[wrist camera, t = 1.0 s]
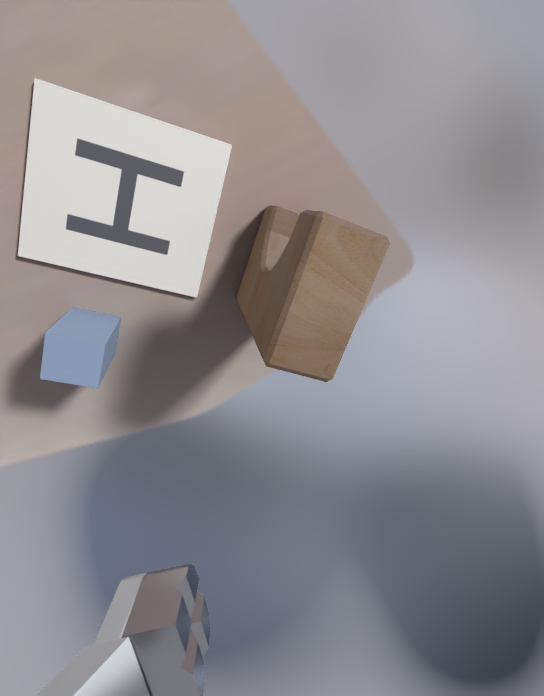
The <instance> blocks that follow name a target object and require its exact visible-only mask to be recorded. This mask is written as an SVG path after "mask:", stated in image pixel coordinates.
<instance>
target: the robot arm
mask: <svg viewBox="0 0 544 696" xmlns="http://www.w3.org/2000/svg"><path fill="white" fill-rule="evenodd" d="M198 582H199V577H198V574H197V572H196V569H195V566H194V565H192V564H186V565H181V566H176V567H172V568H167V569H162V570H157V571H152V572H148V573H143V574H139V575H134V576H130V577H125V578H124V579H123V580H122V581H121V582H120V583H119V586H118V588H117V591H116V593H115V596H114V598H113V600H112V602H111V605H110V607H109V609H108V612H107V614H106V616H105V619H104V621H103V623H102V626H101V628H100V630H99V633H98V635H97V637H96V640H95V642H94V644H93V645H90V646H86V647H85V648H84V649H83V650H82V651H81V652H80V653H79V654H78V655H77V656H76V657H75V658H74V659H73V660H72V661H71V662H70V663H69V664H68V665H67V666H66V667H65V668H64V669H63V670H62V671H61V672H59V674H57V676H55V678H54V679H52V680H51V681H50V682H49V684H47V685H46V686H45V687H44V688H43V689H42V690H41V691H40V692H39V693H38V694H37V695H36V696H203V691H204V683H205V675H206V666H205V663H204V660H203V655H204V653H205V652H206V651H207V649H208V647H209V641H210V618H209V612H208V607H207V603H206V600H205V597H204V596H203V595H202V594H201V593H199V592H198V591H197V589H198Z"/></svg>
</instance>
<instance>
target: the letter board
mask: <svg viewBox="0 0 544 696" xmlns="http://www.w3.org/2000/svg"><path fill="white" fill-rule="evenodd" d="M231 148H232V145H231V144H228V143H225V142H222V141H219V140H216V139H213V138H210V137H207V136H204V135H201V134H198V133H195V132H192V131H189V130H186V129H183V128H180V127H178V126H175V125H172V124H169V123H166V122H163V121H160V120H157V119H154V118H151V117H148V116H145V115H142V114H139V113H136V112H133V111H130V110H127V109H125V108H122V107H119V106H116V105H113V104H110V103H107V102H104V101H101V100H98V99H95V98H92V97H89V96H86V95H83V94H80V93H77V92H74V91H71V90H69V89H66V88H63V87H60V86H57V85H54V84H51V83H48V82H45V81H42V80H39V79H36V78H35V80H34V90H33V101H32V111H31V122H30V132H29V143H28V153H27V164H26V174H25V185H24V195H23V206H22V216H21V227H20V237H19V248H18V256H21V257H25V258H29V259H34V260H38V261H42V262H46V263H51V264H55V265H59V266H64V267H68V268H72V269H76V270H81V271H85V272H89V273H94V274H98V275H102V276H106V277H111V278H115V279H119V280H123V281H128V282H132V283H136V284H141V285H145V286H149V287H153V288H158V289H162V290H166V291H171V292H175V293H179V294H183V295H188V296H192V297H196V298H197V295H198V291H199V286H200V282H201V278H202V273H203V269H204V265H205V260H206V256H207V252H208V247H209V243H210V239H211V234H212V230H213V226H214V221H215V217H216V213H217V208H218V204H219V200H220V195H221V191H222V187H223V182H224V178H225V174H226V169H227V165H228V161H229V156H230V152H231Z"/></svg>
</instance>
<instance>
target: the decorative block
mask: <svg viewBox="0 0 544 696" xmlns="http://www.w3.org/2000/svg"><path fill="white" fill-rule="evenodd" d="M388 246H389V241H388V238H387V237H386V236H383V235H381V234H378V233H376V232H373V231H371V230H368V229H366V228H363V227H361V226H358V225H355V224H353V223H350V222H348V221H345V220H343V219H340V218H338V217H335V216H333V215H330V214H327V213H325V212H320V211H311V210H306V211H304V212H302V213H300V215H298V214H295V213H293V212H290V211H287V210H285V209H282V208H280V207H277V206H268V207H266V208H265V211H264V214H263V217H262V220H261V223H260V226H259V229H258V232H257V235H256V238H255V241H254V244H253V247H252V250H251V254H250V257H249V260H248V263H247V266H246V269H245V272H244V275H243V278H242V281H241V284H240V287H239V290H238V293H237V296H236V299H237V301H238V303H239V306H240V308H241V310H242V313H243V315H244V317H245V319H246V322H247V324H248V326H249V329H250V331H251V333H252V336H253V338H254V340H255V342H256V345H257V347H258V349H259V351H260V354H261V356H262V358H263V360H264V362H265V364H266V366H268V367H271V368H275V369H279V370H283V371H287V372H291V373H294V374H298V375H302V376H306V377H310V378H313V379H317V380H321V381H325V382H327V381H329V380H331V379H332V378H333V377H334V374H335V372H336V369H337V367H338V365H339V363H340V360H341V358H342V355H343V353H344V351H345V348H346V346H347V344H348V341H349V339H350V336H351V334H352V332H353V329H354V327H355V325H356V322H357V320H358V318H359V315H360V313H361V311H362V308H363V306H364V303H365V301H366V299H367V296H368V294H369V292H370V289H371V287H372V284H373V282H374V280H375V277H376V275H377V272H378V270H379V268H380V265H381V263H382V260H383V258H384V256H385V253H386V251H387V249H388Z"/></svg>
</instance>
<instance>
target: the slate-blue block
mask: <svg viewBox="0 0 544 696" xmlns="http://www.w3.org/2000/svg"><path fill="white" fill-rule="evenodd" d="M120 321H121V317H118V316H113V315H109V314H104V313H99V312H94V311H90V310H85V309H80V308H75V307H72V308H71V309H70V310H69V311H68V312H67V313H66V314H65V315H64V316H63V317H62V318H61V319H60V320H58V321H57V322H56V323H55V324H54V325H53V326H52V327H51V328H50V329H49V330H48V331H47V332H46V333H45V340H44V348H43V356H42V364H41V373H40V379H43V380H50V381H56V382H62V383H68V384H74V385H80V386H86V387H92V388H99V385H100V383H101V381H102V379H103V377H104V375H105V373H106V371H107V369H108V367H109V365H110V363H111V361H112V359H113V357H114V355H115V350H116V344H117V338H118V333H119V327H120Z"/></svg>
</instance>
